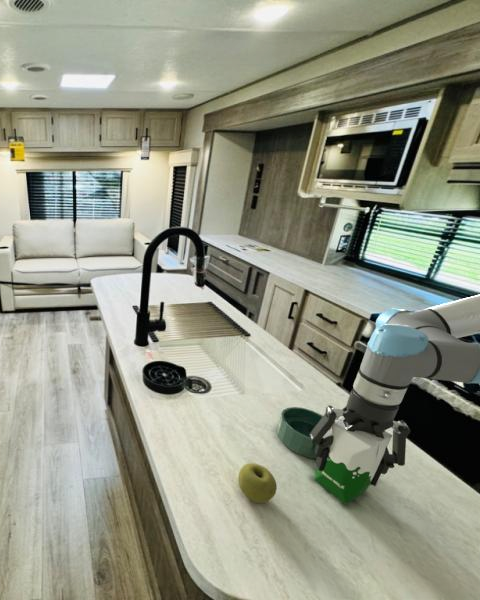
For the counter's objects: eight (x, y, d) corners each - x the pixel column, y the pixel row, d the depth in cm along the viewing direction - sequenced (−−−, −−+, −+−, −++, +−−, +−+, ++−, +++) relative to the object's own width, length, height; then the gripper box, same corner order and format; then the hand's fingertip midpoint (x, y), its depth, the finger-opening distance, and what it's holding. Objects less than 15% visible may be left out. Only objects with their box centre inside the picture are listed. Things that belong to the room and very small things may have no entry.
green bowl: (324, 431, 91) (330, 413, 89) (337, 466, 80) (345, 447, 77) (273, 419, 96) (278, 402, 93) (280, 451, 85) (285, 433, 82)
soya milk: (370, 494, 73) (401, 428, 65) (347, 510, 70) (376, 442, 62) (330, 465, 80) (353, 403, 73) (307, 478, 77) (329, 414, 70)
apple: (244, 510, 70) (250, 487, 67) (230, 478, 78) (235, 457, 75) (279, 511, 70) (286, 489, 67) (261, 479, 77) (267, 458, 74)
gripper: (317, 393, 66) (292, 470, 74) (458, 422, 58) (413, 505, 66) (308, 374, 72) (287, 447, 81) (435, 397, 64) (397, 476, 72)
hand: (344, 473), depth 73 cm, fingers open, 9 cm apart
